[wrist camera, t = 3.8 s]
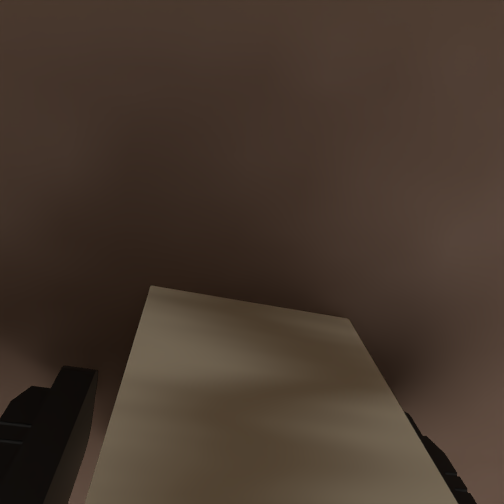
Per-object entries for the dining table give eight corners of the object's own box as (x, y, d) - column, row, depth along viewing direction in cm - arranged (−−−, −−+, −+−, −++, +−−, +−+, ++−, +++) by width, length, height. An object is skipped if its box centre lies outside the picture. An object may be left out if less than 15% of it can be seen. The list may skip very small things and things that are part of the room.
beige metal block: (348, 318, 11) (483, 546, 6) (297, 467, 13) (363, 758, 7) (150, 284, 10) (82, 511, 5) (123, 447, 12) (48, 759, 7)
